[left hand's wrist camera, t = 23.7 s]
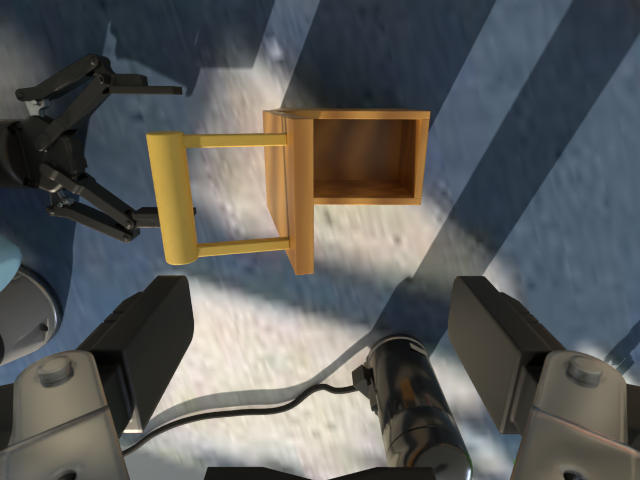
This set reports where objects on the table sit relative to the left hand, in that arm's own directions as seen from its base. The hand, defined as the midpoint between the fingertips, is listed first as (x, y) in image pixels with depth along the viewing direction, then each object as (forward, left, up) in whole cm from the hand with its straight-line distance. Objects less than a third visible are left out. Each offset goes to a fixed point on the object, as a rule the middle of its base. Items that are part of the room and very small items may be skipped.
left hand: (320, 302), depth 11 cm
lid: (-2, +2, -20) cm, 20 cm away
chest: (+2, -2, -39) cm, 39 cm away
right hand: (-11, +10, -32) cm, 36 cm away
